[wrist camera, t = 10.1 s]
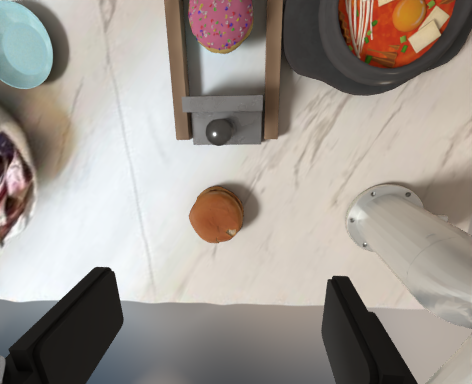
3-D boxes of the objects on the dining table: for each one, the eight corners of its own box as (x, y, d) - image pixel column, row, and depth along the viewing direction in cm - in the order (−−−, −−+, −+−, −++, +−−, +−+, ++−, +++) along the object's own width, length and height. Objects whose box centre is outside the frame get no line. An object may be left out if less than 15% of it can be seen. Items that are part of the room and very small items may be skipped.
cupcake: (186, 10, 35) (153, -41, 24) (239, -21, 33) (231, -92, 22) (211, 69, 37) (192, 49, 26) (263, 43, 35) (267, 9, 24)
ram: (261, 98, 37) (263, 92, 28) (260, 143, 40) (262, 152, 30) (192, 99, 38) (171, 94, 29) (195, 143, 40) (176, 152, 31)
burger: (201, 179, 43) (195, 187, 38) (250, 195, 43) (250, 204, 39) (188, 226, 46) (181, 238, 42) (234, 241, 46) (232, 254, 42)
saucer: (57, 9, 36) (44, 2, 34) (67, 93, 40) (57, 91, 38) (-17, 4, 37) (-33, -3, 35) (0, 87, 41) (-14, 85, 38)
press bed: (282, -46, 32) (289, -84, 26) (276, 137, 39) (280, 141, 33) (166, -38, 33) (146, -73, 27) (180, 138, 41) (167, 142, 34)
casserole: (279, 102, 38) (286, 98, 30) (279, -46, 32) (287, -99, 24) (450, 90, 36) (506, 83, 28) (481, -71, 30) (563, -138, 22)
